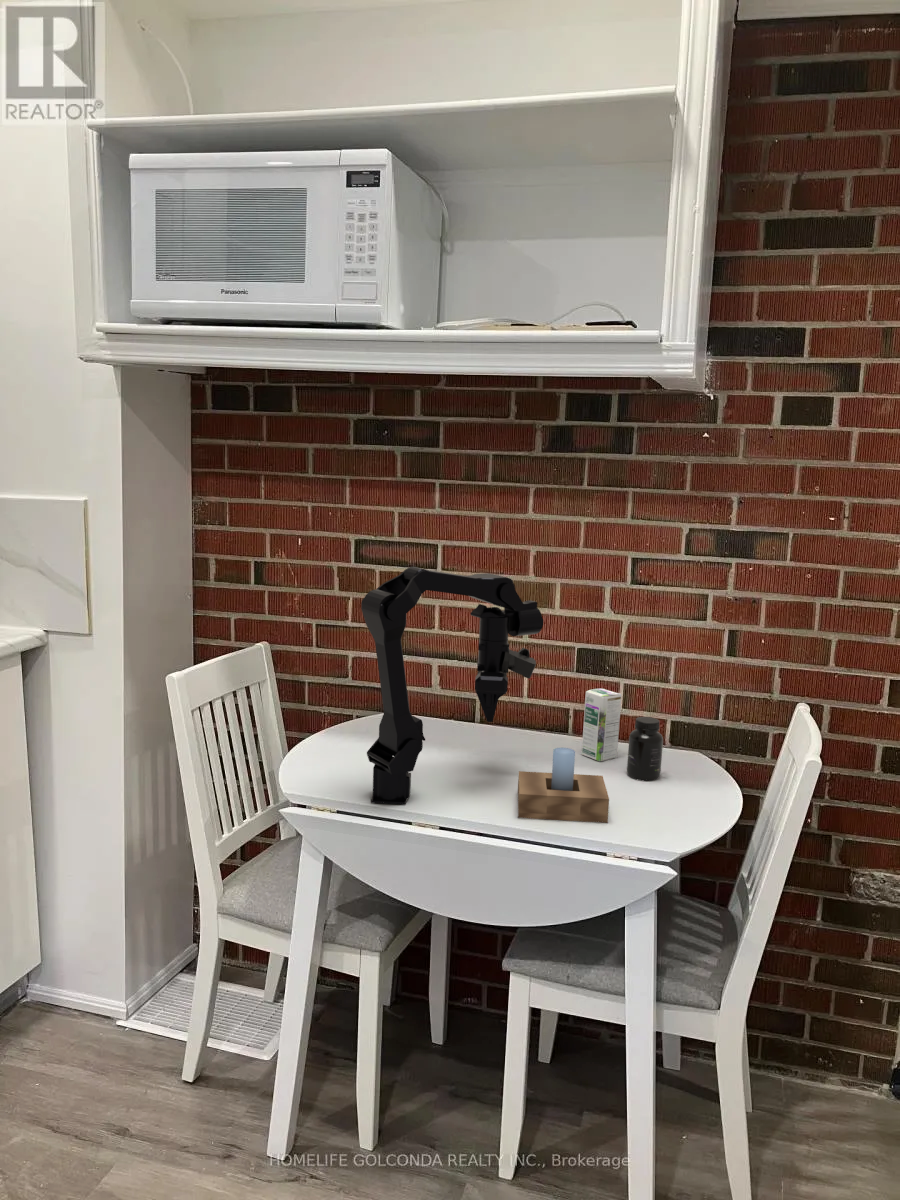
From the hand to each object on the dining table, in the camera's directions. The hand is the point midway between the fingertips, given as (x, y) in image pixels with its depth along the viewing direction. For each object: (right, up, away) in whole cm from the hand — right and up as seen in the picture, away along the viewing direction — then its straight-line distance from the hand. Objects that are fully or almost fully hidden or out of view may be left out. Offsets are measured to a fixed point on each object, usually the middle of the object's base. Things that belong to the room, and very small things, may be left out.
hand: (490, 715), depth 189 cm
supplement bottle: (+32, -14, +6) cm, 35 cm away
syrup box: (+24, -11, +18) cm, 32 cm away
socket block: (+13, -16, -12) cm, 24 cm away
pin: (+13, -15, -13) cm, 23 cm away
